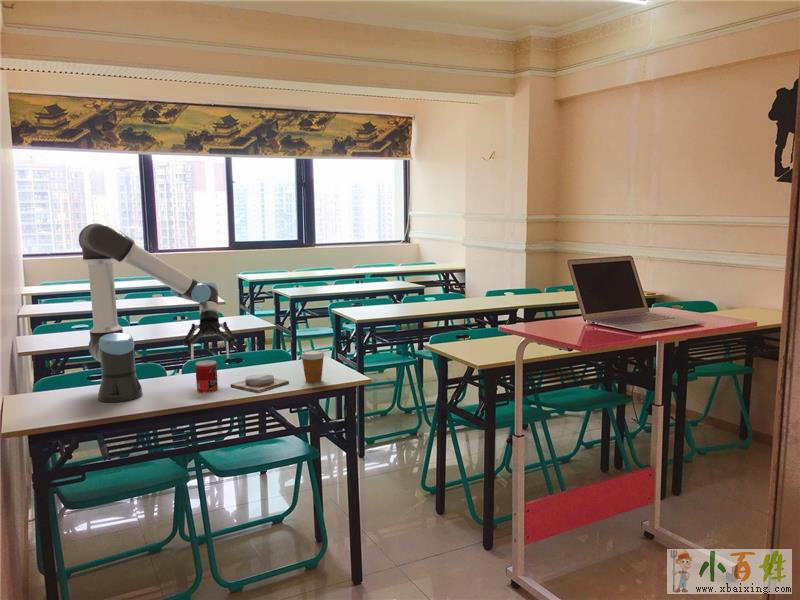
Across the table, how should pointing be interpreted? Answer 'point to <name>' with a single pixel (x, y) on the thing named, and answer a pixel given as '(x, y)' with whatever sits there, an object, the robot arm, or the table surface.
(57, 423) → the table surface
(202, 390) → the canned food
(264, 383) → the seat plate
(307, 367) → the disposable coffee cup
